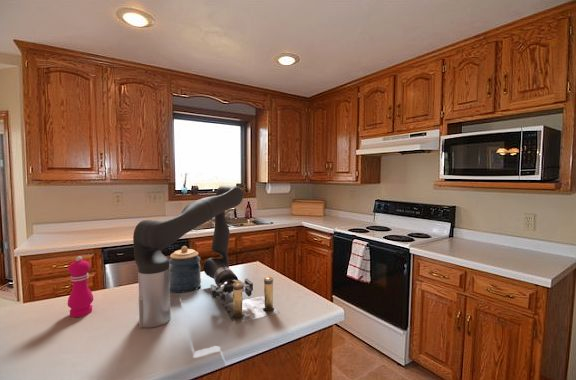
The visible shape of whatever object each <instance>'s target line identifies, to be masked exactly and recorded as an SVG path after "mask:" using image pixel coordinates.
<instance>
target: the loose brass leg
mask: <svg viewBox="0 0 576 380" xmlns="http://www.w3.org/2000/svg"><path fill="white" fill-rule="evenodd" d="M241 282H242V281H241ZM241 282H235V283H233V292H232V302H233V317H234V318H236V319H238V318H241V317H242V300H243V292H242V283H241Z"/></svg>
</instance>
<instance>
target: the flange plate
mask: <svg viewBox="0 0 576 380" xmlns="http://www.w3.org/2000/svg"><path fill="white" fill-rule="evenodd" d="M222 306H223V308H224V310H225V311H226V313H227V315H228V317H229V318H230V320H231V321H232V324H233V325H235V324H239V323H240V324H241V323H244V322H247V321H252V320H256V319H260V318H265V317H269V316H273V315H277V314H280V313H281V312H280V311H279V310H278V309H277V308H276V306H274V305H273V310H272V311H265V310H264V295H262V296H261V295H260V296H256V297H251V298H245V299H242V317H241V318H238V319H236V318H234V317H233V301H231V302H227V303H223V304H222Z"/></svg>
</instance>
